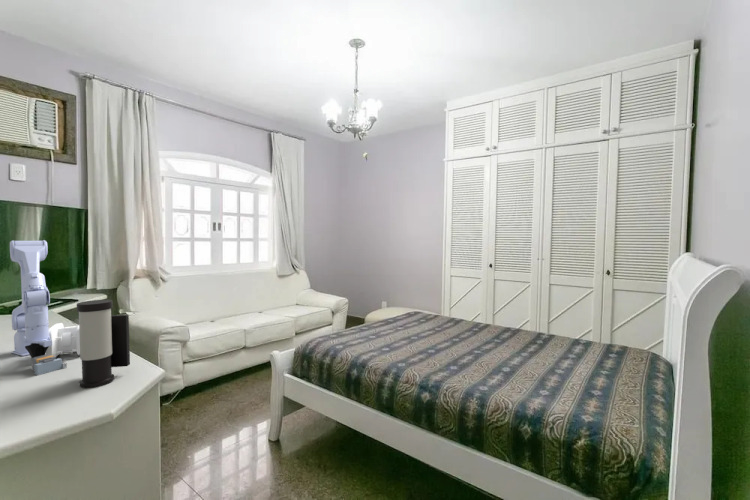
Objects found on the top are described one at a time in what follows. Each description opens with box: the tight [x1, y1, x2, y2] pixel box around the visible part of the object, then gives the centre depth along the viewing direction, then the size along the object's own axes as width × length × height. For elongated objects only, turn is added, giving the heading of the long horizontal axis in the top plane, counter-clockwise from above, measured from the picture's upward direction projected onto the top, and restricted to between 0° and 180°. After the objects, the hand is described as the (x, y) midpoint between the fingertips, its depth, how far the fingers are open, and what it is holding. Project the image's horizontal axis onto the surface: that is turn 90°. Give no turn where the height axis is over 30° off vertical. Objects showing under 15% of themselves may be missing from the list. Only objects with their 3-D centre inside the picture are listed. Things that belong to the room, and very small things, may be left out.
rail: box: [62, 361, 68, 369], centre depth 121 cm, size 18×1×2 cm, turn 65°
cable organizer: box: [45, 322, 80, 358], centre depth 131 cm, size 15×11×12 cm
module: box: [31, 353, 57, 371], centre depth 117 cm, size 6×4×4 cm
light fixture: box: [76, 299, 131, 389], centre depth 106 cm, size 12×11×25 cm
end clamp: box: [33, 357, 63, 376], centre depth 115 cm, size 2×6×4 cm, turn 155°
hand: (38, 364), depth 118 cm, fingers closed
